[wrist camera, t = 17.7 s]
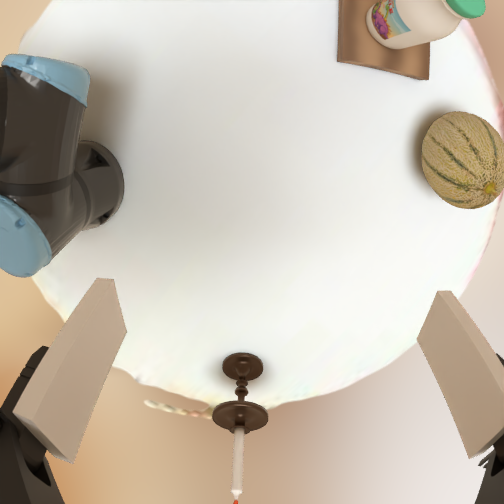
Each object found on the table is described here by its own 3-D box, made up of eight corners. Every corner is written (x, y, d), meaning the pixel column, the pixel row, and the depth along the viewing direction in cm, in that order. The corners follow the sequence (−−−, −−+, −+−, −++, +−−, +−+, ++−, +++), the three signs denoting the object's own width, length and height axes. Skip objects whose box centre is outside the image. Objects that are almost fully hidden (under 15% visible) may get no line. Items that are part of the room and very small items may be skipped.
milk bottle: (415, 18, 29) (499, -9, 12) (406, 58, 33) (494, 47, 15) (369, -5, 29) (437, -54, 11) (359, 36, 32) (430, 2, 15)
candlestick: (241, 385, 69) (234, 521, 38) (208, 363, 65) (187, 510, 35) (276, 367, 66) (282, 515, 35) (244, 342, 62) (236, 506, 31)
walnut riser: (337, 61, 37) (342, 59, 34) (338, -17, 30) (343, -23, 27) (419, 80, 37) (428, 79, 34) (420, 5, 30) (428, 2, 28)
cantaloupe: (451, 93, 37) (509, 101, 24) (481, 164, 42) (534, 191, 29) (390, 135, 42) (439, 154, 28) (427, 206, 47) (474, 245, 34)
